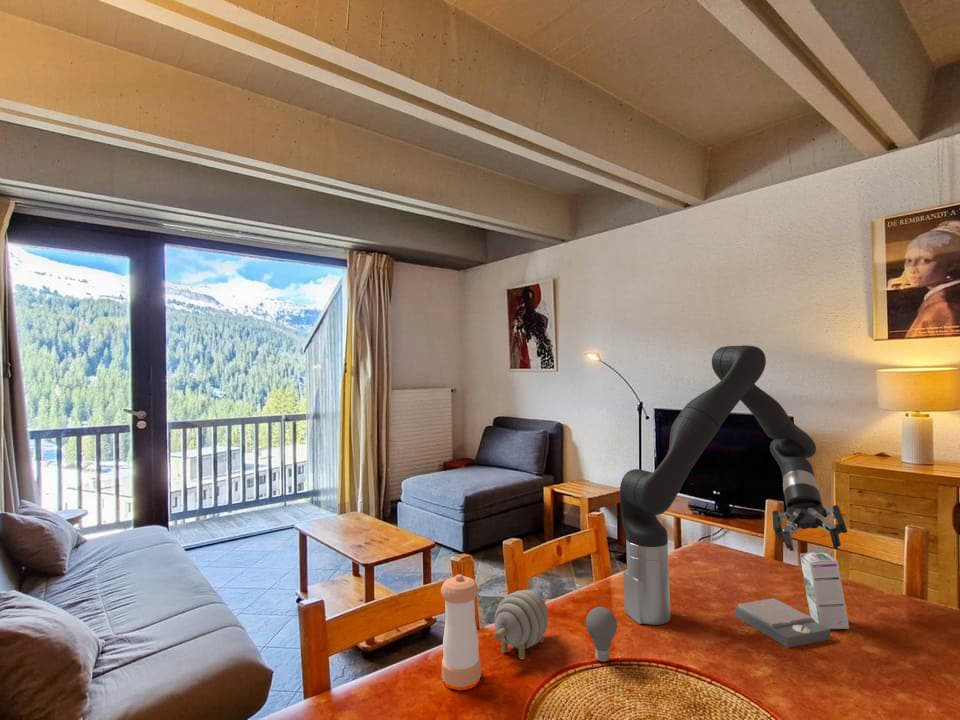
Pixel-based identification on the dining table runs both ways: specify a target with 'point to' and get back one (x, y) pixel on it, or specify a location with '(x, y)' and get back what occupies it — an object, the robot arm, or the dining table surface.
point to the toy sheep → (521, 620)
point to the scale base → (788, 630)
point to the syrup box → (824, 590)
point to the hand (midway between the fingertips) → (813, 547)
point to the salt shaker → (460, 633)
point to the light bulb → (601, 630)
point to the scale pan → (774, 612)
